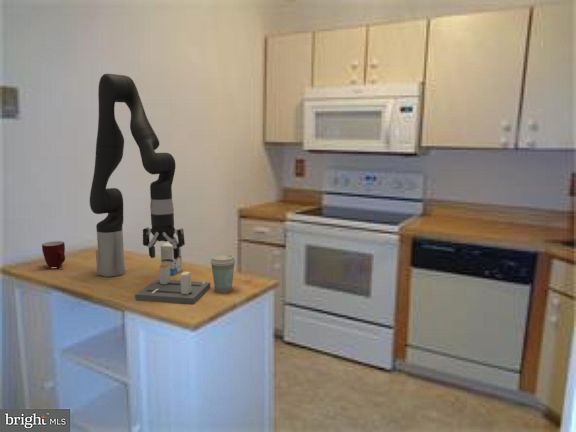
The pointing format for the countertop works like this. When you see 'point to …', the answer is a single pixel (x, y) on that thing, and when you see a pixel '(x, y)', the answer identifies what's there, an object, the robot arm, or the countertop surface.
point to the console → (172, 292)
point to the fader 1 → (165, 273)
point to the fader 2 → (185, 282)
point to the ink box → (171, 258)
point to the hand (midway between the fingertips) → (164, 258)
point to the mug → (54, 253)
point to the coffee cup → (223, 272)
